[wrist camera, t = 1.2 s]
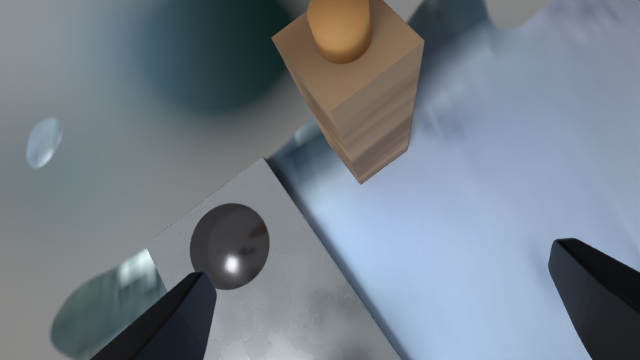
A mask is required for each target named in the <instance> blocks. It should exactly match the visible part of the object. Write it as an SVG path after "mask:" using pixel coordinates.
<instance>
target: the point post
mask: <svg viewBox="0 0 640 360" xmlns="http://www.w3.org/2000/svg"><path fill="white" fill-rule="evenodd" d="M272 39H273V41H274V43H275V45H276V47H277V49H278V51H279V52H280V54H281V56H282V58H283V60H284V62H285V64H286V66H287V67H288V69H289V71H290V73H291V75H292V77H293V79H294V80H295V82H296V84H297V86H298V88H299V90H300V91H301V93H302V95H303V97H304V99H305V101H306V103H307V105H308V106H309V108H310V110H311V112H312V114H313V116H314V118H315V119H316V121H317V123H318V125H319V127H320V129H321V131H322V133H323V134H324V136H325V138H326V140H327V142H328V143H329V145H330V146H331V147H332V149H333V150H334V151H335V152H336V154H337V155H338V156H339V158H340V159H341V160H342V161H343V163H344V164H345V165H346V167H347V168H348V169H349V170H350V172H351V173H352V174H353V176H354V177H355V178H356V179H357V181H358V182H359V183H360V185H361V184H362V183H364V182H365V181H366V180H368V179H369V178H370V177H372V176H373V175H375V174H376V173H377V172H379V171H380V170H381V169H383V168H384V167H385V166H387V165H388V164H389V163H391V162H392V161H393V160H395V159H396V158H397V157H399V156H400V155H401V154H403V153H404V152H406V151H407V147H408V141H409V135H410V129H411V122H412V116H413V110H414V104H415V97H416V91H417V85H418V79H419V72H420V66H421V60H422V54H423V47H424V40H423V39H422V38H421V37H420V36H419V35H418V34H417V33H416V32H415V31H414V30H413V29H412V28H411V27H410V26H409V25H408V24H407V23H406V22H405V21H403V20H402V19H401V18H400V17H399V16H398V15H397V14H396V13H395V12H394V11H393V10H392V9H391V8H390V7H389V6H388V5H387V4H386V3H385V2H384V1H383V0H311V2H310V4H309V6H308V10H307V11H306V12H305V13H303V14H302V15H301V16H299V17H298V18H297V19H295V20H294V21H293V22H292V23H290V24H289V25H288V26H286V27H285V28H284V29H282V30H281V31H280V32H279V33H277V34H276V35H275V36H273V37H272Z"/></svg>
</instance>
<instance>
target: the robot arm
mask: <svg viewBox="0 0 640 360" xmlns="http://www.w3.org/2000/svg"><path fill="white" fill-rule="evenodd" d="M548 268H549V272H550V275H551V277H552V279H553V282H554V284H555V286H556V288H557V290H558V293H559V295H560V297H561V299H562V301H563V304H564V306H565V308H566V310H567V312H568V315H569V317H570V319H571V321H572V323H573V326H574V328H575V330H576V332H577V334H578V336H579V338H580V339H581V341H582V343H583V345H584V347H585V348H586V350H587V352H588V353H589V355H590V357H591V358H592V360H640V272H638V271H636V270H634V269H633V268H631V267H629V266H627V265H625V264H623V263H621V262H619V261H618V260H616V259H614V258H612V257H610V256H608V255H606V254H604V253H603V252H601V251H599V250H597V249H595V248H593V247H591V246H590V245H588V244H586V243H584V242H582V241H580V240H578V239H576V238H564V239H556V240H554V242H553V244H552V248H551V253H550V258H549V262H548ZM216 300H217V292H216V289H215V287H214V285H213V283H212V281H211V280H210V278H209V276H208V274H207V273H206V272H204V271H200V272H192V273H190V274H188V275H187V276H186V277H185V278H184V279H182V280H181V281H180V282H179V283H178V284H177V285H176V286H174V287H173V288H172V289H171V290H170V291H169V292H167V293H166V294H165V295H164V296H163V297H162V298H161V299H159V300H158V301H157V302H156V303H155V304H154V305H152V306H151V307H150V308H149V309H148V310H147V311H145V312H144V313H143V314H142V315H141V316H140V317H139V318H137V319H136V320H135V321H134V322H133V323H132V324H130V325H129V326H128V327H127V328H126V329H125V330H123V331H122V332H121V333H120V334H119V335H118V336H117V337H115V338H114V339H113V340H112V341H111V342H110V343H108V344H107V345H106V346H105V347H104V348H103V349H101V350H100V351H99V352H98V353H97V354H96V355H95V356H93V357H92V358H91V359H90V360H203V359H204V356H205V352H206V348H207V344H208V339H209V334H210V329H211V324H212V320H213V315H214V310H215V305H216Z"/></svg>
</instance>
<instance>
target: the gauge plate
mask: <svg viewBox="0 0 640 360" xmlns="http://www.w3.org/2000/svg"><path fill="white" fill-rule="evenodd" d="M145 245H146V247H147V249H148V251H149V254H150V256H151V258H152V260H153V262H154V264H155V266H156V268H157V270H158V272H159V274H160V276H161V279H162V281H163V283H164V285H165V287H166V289H167V291H168V292H169V291H170V290H171V289H172V288H173V287H174V286H176V285H177V284H178V283H179V282H180V281H181V280H182V279H184V278H185V277H186V276H187V275H188V274H190V273H192V272H200V271H204V272H206V273H207V274H208V276H209V278H210V280H211V281H212V283H213V285H214V287H215V289H216V292H217V300H216V305H215V310H214V315H213V320H212V324H211V329H210V334H209V339H208V344H207V348H206V352H205V356H204V359H203V360H402V359H401V357H400V356H399V355H398V353H397V352H396V350H395V349H394V347H393V346H392V344H391V343H390V341H389V340H388V338H387V337H386V335H385V334H384V333H383V331H382V330H381V328H380V327H379V325H378V324H377V322H376V321H375V319H374V318H373V316H372V315H371V313H370V312H369V311H368V309H367V308H366V306H365V305H364V303H363V302H362V300H361V299H360V297H359V296H358V294H357V293H356V291H355V290H354V288H353V287H352V286H351V284H350V283H349V281H348V280H347V278H346V277H345V275H344V274H343V272H342V271H341V269H340V268H339V266H338V265H337V264H336V262H335V261H334V259H333V258H332V256H331V255H330V253H329V252H328V250H327V249H326V247H325V246H324V244H323V243H322V242H321V240H320V239H319V237H318V236H317V234H316V233H315V231H314V230H313V228H312V227H311V225H310V224H309V222H308V221H307V220H306V218H305V217H304V215H303V214H302V212H301V211H300V209H299V208H298V206H297V205H296V203H295V202H294V200H293V199H292V198H291V196H290V195H289V193H288V192H287V190H286V189H285V187H284V186H283V184H282V183H281V181H280V180H279V178H278V177H277V176H276V174H275V173H274V171H273V170H272V168H271V167H270V165H269V164H268V162H267V161H266V159H265V158H263V157H261V158H259V159H258V160H257V161H256V162H254V163H253V164H252V165H250V166H249V167H248V168H246V169H245V170H244V171H242V172H241V173H240V174H238V175H237V176H236V177H234V178H233V179H232V180H230V181H229V182H228V183H226V184H225V185H224V186H222V187H221V188H220V189H218V190H217V191H216V192H214V193H213V194H212V195H210V196H209V197H208V198H206V199H205V200H204V201H202V202H201V203H200V204H198V205H197V206H196V207H194V208H193V209H192V210H190V211H189V212H188V213H186V214H185V215H184V216H182V217H181V218H180V219H179V220H177V221H176V222H174V223H173V224H172V225H170V226H169V227H168V228H166V229H165V230H164V231H162V232H161V233H160V234H158V235H157V236H156V237H154V238H153V239H152V240H151V241H149V242H148V243H146V244H145Z"/></svg>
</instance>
